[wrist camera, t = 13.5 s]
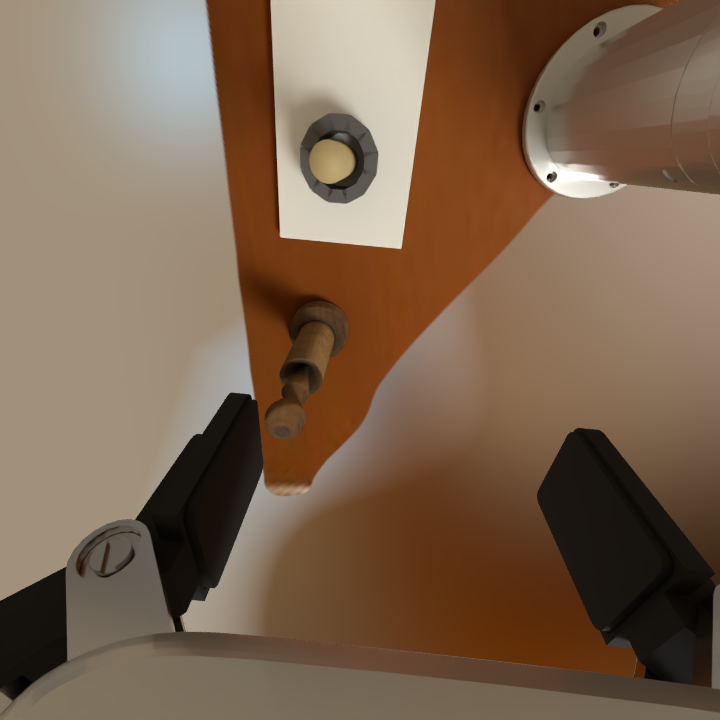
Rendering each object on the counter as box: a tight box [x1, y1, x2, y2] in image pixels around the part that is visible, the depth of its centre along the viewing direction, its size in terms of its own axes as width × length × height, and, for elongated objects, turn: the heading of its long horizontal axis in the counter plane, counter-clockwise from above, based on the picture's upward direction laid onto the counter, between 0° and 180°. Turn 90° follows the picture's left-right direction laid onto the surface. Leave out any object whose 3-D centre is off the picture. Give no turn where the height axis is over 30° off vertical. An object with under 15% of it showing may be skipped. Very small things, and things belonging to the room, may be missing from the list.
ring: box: [300, 113, 379, 204], centre depth 28 cm, size 6×6×4 cm
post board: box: [271, 0, 436, 249], centre depth 24 cm, size 12×24×12 cm, turn 175°
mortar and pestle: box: [265, 301, 349, 440], centre depth 32 cm, size 7×6×18 cm
